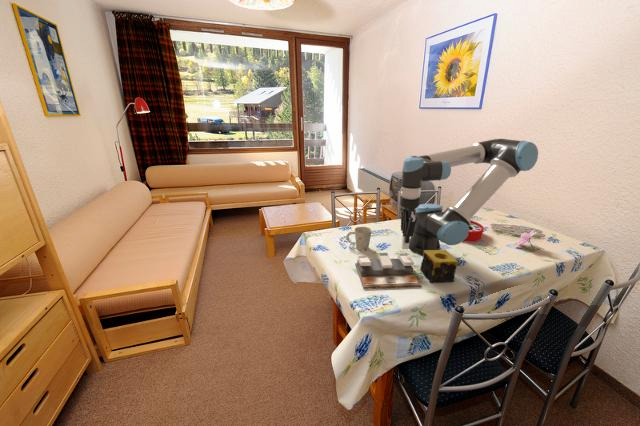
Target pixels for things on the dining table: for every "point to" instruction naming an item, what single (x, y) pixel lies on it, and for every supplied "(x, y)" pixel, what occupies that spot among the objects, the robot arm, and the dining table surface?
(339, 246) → the dining table surface
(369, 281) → the switch board
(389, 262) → the rocker middle
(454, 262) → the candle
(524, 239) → the lily
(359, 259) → the block
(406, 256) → the block
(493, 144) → the robot arm
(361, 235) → the mug
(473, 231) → the toy clock
